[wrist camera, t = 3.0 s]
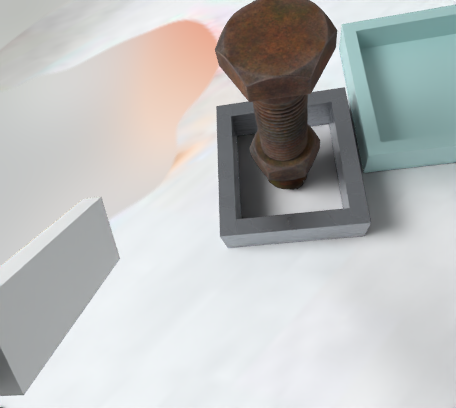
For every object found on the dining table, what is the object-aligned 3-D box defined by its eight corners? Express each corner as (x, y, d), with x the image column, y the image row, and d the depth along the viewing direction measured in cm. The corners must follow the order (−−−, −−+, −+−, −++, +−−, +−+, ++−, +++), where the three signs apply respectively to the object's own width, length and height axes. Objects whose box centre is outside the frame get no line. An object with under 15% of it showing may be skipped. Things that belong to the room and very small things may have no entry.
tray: (504, 21, 33) (520, -7, 30) (560, 150, 28) (585, 129, 25) (339, 48, 35) (341, 24, 32) (363, 172, 30) (368, 155, 27)
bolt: (275, 137, 33) (254, -20, 19) (330, 157, 31) (350, 0, 17) (244, 193, 31) (197, 66, 18) (300, 217, 30) (296, 97, 16)
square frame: (341, 110, 33) (344, 87, 30) (364, 235, 28) (370, 222, 25) (223, 126, 34) (216, 106, 31) (227, 247, 30) (220, 236, 27)
